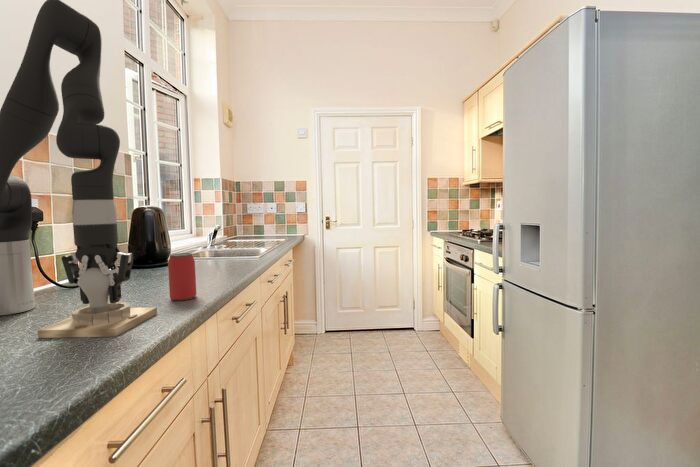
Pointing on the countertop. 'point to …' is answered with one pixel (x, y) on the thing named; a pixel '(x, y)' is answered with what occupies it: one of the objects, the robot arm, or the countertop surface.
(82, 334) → the lamp holder
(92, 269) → the lightbulb
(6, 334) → the countertop surface
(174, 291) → the beer can
